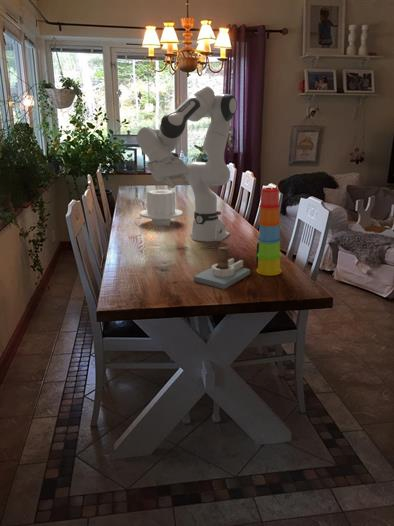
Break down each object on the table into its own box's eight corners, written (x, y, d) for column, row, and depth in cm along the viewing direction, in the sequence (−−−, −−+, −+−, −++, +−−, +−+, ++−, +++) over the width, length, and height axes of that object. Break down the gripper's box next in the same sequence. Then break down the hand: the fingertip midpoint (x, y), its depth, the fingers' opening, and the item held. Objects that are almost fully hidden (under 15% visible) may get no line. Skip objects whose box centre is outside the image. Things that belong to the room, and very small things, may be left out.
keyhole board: (223, 266, 188) (223, 256, 186) (251, 272, 180) (252, 262, 179) (193, 280, 171) (193, 270, 170) (224, 289, 164) (224, 277, 162)
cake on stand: (143, 218, 272) (142, 187, 266) (183, 219, 271) (183, 188, 265) (136, 228, 248) (135, 195, 242) (180, 229, 247) (180, 195, 241)
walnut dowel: (221, 270, 177) (221, 246, 174) (229, 272, 175) (230, 248, 172) (215, 272, 174) (216, 248, 171) (224, 274, 172) (225, 250, 169)
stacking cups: (275, 277, 175) (281, 191, 164) (252, 272, 180) (256, 188, 169) (285, 270, 183) (291, 187, 172) (262, 266, 189) (267, 185, 177)
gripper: (149, 157, 175) (169, 183, 173) (180, 153, 191) (198, 178, 189) (141, 167, 179) (160, 193, 177) (172, 163, 195) (190, 187, 192)
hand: (180, 185), depth 183 cm, fingers open, 8 cm apart
